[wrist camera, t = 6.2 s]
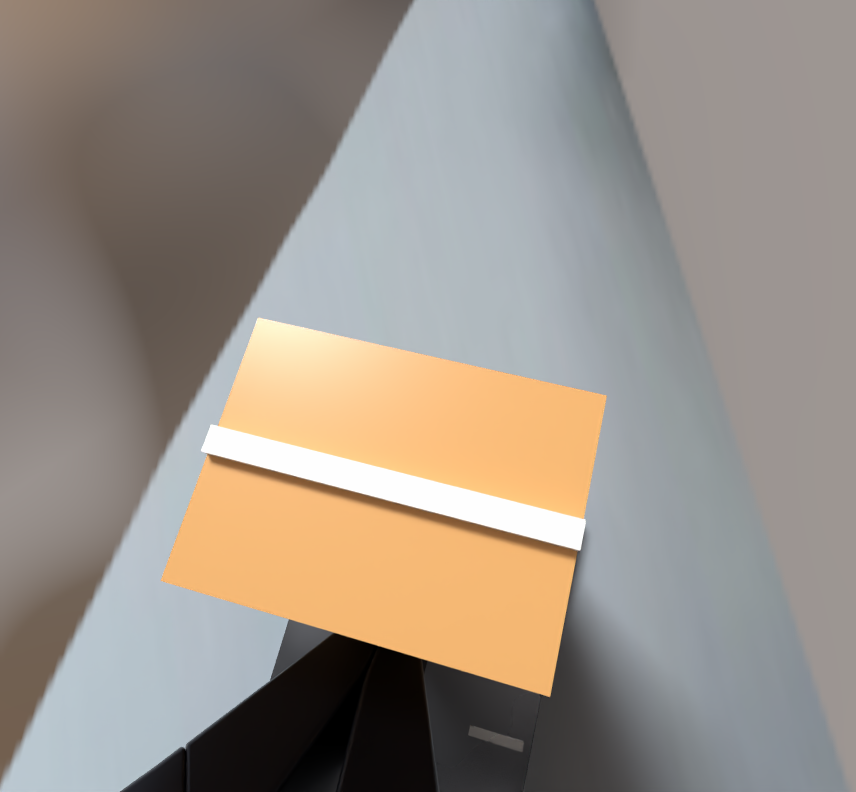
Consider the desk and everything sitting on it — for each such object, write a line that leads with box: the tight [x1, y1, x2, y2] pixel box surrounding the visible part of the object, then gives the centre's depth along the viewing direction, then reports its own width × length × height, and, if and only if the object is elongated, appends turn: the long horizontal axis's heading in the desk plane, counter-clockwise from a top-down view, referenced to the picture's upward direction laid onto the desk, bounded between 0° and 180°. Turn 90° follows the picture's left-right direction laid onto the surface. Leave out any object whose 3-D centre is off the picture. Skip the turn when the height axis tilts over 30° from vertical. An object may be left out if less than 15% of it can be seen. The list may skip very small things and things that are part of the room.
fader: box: [161, 318, 607, 697], centre depth 11 cm, size 3×4×11 cm
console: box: [270, 619, 541, 792], centre depth 16 cm, size 12×7×1 cm, turn 165°
